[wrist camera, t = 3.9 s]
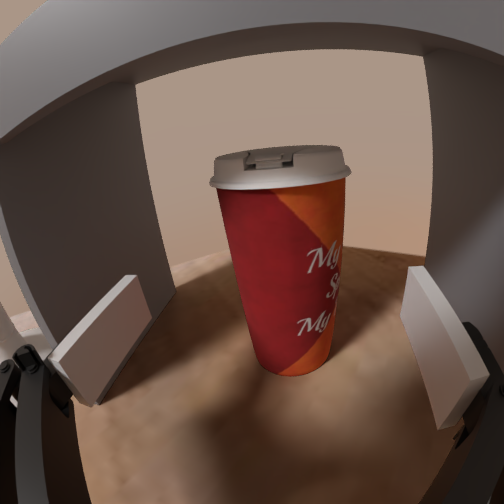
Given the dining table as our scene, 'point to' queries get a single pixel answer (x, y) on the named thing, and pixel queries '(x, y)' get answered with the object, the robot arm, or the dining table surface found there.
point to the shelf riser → (202, 52)
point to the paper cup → (286, 247)
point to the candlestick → (19, 340)
